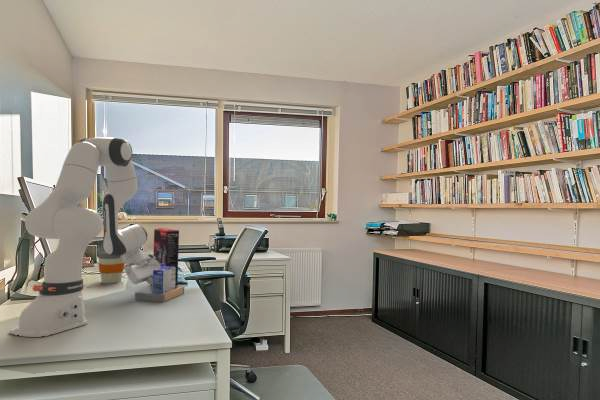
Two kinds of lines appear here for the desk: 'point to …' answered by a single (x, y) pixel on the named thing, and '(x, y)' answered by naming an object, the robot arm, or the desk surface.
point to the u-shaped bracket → (160, 295)
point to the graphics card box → (167, 248)
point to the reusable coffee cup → (110, 268)
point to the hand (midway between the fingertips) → (157, 286)
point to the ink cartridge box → (163, 279)
